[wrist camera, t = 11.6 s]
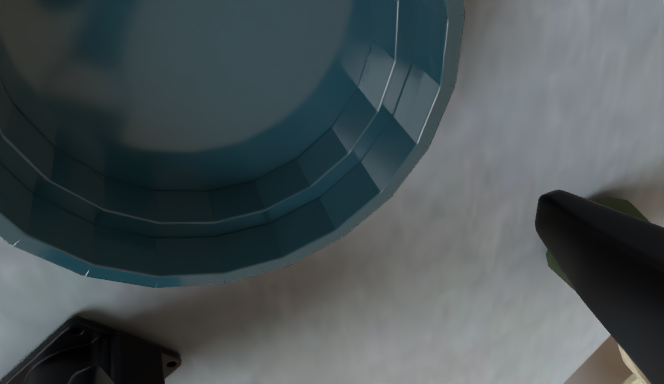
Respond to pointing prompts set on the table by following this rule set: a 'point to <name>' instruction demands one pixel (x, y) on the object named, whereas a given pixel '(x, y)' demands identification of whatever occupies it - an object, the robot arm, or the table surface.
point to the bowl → (211, 128)
